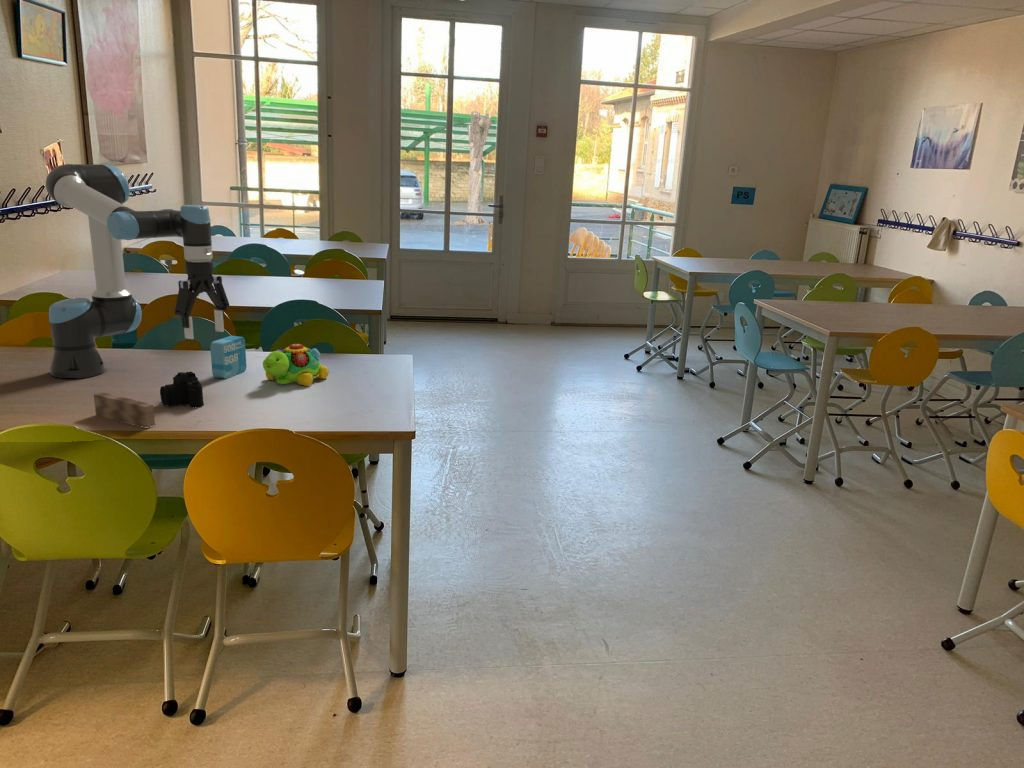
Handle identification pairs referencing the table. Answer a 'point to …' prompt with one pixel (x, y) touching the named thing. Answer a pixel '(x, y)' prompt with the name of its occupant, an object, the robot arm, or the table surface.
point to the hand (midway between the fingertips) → (205, 334)
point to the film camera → (183, 391)
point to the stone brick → (124, 409)
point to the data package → (228, 356)
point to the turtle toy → (294, 365)
